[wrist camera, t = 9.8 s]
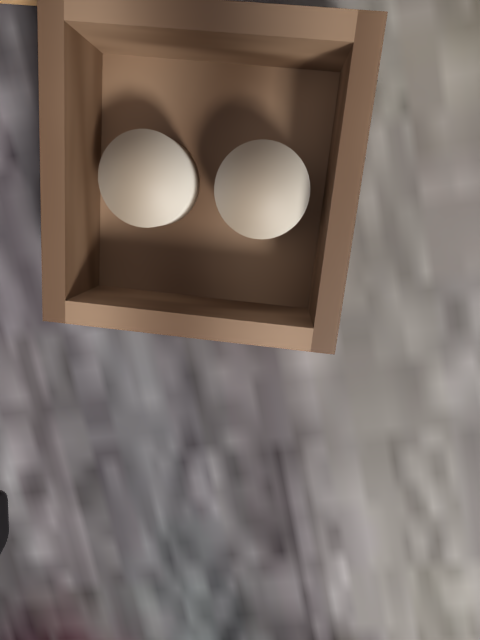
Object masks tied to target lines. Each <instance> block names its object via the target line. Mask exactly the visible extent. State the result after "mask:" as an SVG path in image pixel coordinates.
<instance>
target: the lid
mask: <svg viewBox="0 0 480 640" xmlns="http://www.w3.org/2000/svg"><path fill="white" fill-rule="evenodd" d="M0 3H2V4H17V5H31V6H37V0H0Z"/></svg>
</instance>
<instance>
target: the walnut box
mask: <svg viewBox="0 0 480 640" xmlns="http://www.w3.org/2000/svg"><path fill="white" fill-rule="evenodd" d="M387 13H388V12H384V11H370V10H356V9H342V8H328V7H314V6H300V5H285V4H271V3H257V2H243V1H229V0H37V20H38V77H39V134H40V192H41V249H42V307H43V321H49V322H58V323H66V324H75V325H84V326H92V327H101V328H110V329H118V330H127V331H136V332H144V333H153V334H162V335H170V336H179V337H188V338H196V339H205V340H214V341H222V342H231V343H239V344H248V345H257V346H265V347H274V348H283V349H291V350H300V351H309V352H317V353H326V354H335V349H336V342H337V336H338V329H339V323H340V317H341V310H342V304H343V297H344V291H345V284H346V278H347V271H348V265H349V258H350V252H351V245H352V239H353V233H354V226H355V220H356V213H357V207H358V200H359V194H360V187H361V181H362V174H363V168H364V161H365V155H366V149H367V142H368V136H369V129H370V123H371V116H372V110H373V103H374V97H375V90H376V84H377V77H378V71H379V65H380V58H381V52H382V45H383V39H384V32H385V26H386V19H387Z"/></svg>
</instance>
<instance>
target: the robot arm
mask: <svg viewBox="0 0 480 640" xmlns="http://www.w3.org/2000/svg"><path fill="white" fill-rule="evenodd" d="M8 534H9V519H8V499H7V495H6V493H5V492H4V491H2V490H0V554H1V552H2V550H3V548H4V546H5V544H6V541H7V538H8Z"/></svg>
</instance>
